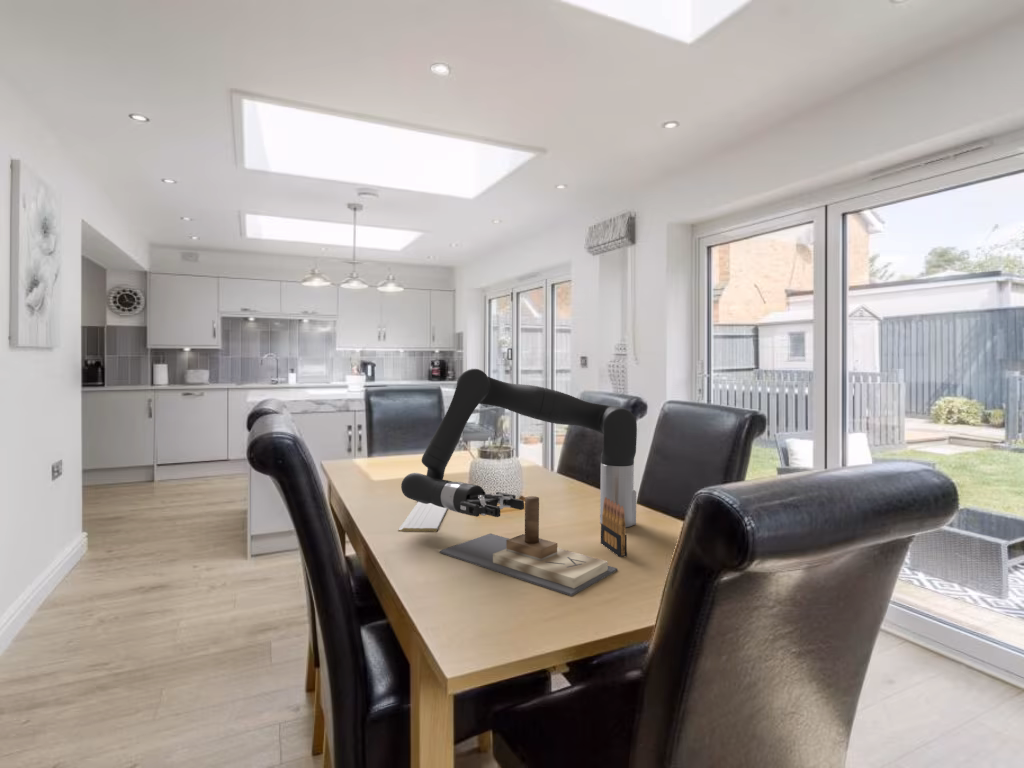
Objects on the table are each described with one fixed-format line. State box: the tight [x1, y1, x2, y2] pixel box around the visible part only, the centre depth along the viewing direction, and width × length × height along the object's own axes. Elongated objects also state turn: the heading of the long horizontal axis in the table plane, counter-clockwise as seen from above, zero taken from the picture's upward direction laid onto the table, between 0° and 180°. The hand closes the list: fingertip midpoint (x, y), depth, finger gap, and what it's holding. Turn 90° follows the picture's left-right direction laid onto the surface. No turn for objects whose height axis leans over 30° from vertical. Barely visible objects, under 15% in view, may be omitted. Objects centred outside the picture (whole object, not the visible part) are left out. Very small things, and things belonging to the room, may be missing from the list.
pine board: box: [493, 547, 609, 588], centre depth 124 cm, size 22×13×2 cm, turn 50°
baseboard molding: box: [397, 501, 448, 532], centre depth 167 cm, size 31×3×12 cm
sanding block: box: [506, 495, 558, 561], centre depth 127 cm, size 10×6×12 cm, turn 50°
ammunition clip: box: [600, 497, 628, 558], centre depth 137 cm, size 11×2×12 cm, turn 16°
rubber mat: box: [439, 533, 618, 597], centre depth 129 cm, size 38×18×1 cm, turn 50°
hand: (511, 508), depth 131 cm, fingers open, 8 cm apart
